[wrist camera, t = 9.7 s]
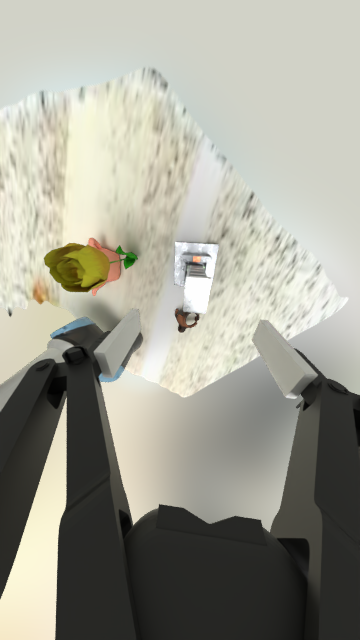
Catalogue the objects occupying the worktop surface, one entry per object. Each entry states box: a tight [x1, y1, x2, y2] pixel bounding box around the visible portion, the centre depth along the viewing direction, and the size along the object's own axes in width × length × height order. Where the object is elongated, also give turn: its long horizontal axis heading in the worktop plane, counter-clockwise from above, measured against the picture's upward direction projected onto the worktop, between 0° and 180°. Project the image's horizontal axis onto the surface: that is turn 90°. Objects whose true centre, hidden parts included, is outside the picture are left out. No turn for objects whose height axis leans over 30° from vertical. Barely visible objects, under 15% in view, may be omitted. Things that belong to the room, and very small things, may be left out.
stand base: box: [174, 242, 219, 288], centre depth 42 cm, size 14×14×12 cm
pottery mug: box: [175, 309, 199, 333], centre depth 57 cm, size 12×10×8 cm
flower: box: [44, 243, 138, 292], centre depth 35 cm, size 9×8×30 cm
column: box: [183, 264, 212, 314], centre depth 31 cm, size 4×6×21 cm
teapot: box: [89, 238, 120, 296], centre depth 46 cm, size 12×18×10 cm, turn 167°
